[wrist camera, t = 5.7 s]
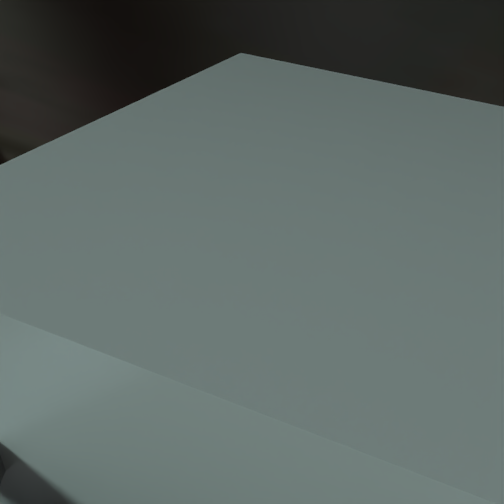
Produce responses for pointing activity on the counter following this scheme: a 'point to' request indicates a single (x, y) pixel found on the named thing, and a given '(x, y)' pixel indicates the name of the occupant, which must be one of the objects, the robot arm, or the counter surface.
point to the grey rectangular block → (257, 297)
